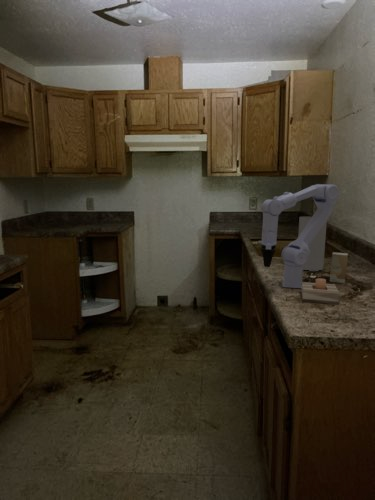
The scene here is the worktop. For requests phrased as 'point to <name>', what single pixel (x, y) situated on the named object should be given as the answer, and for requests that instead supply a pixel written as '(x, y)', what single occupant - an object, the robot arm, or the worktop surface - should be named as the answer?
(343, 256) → the skincare box
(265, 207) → the robot arm
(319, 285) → the peg
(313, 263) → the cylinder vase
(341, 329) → the worktop surface
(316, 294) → the socket block
